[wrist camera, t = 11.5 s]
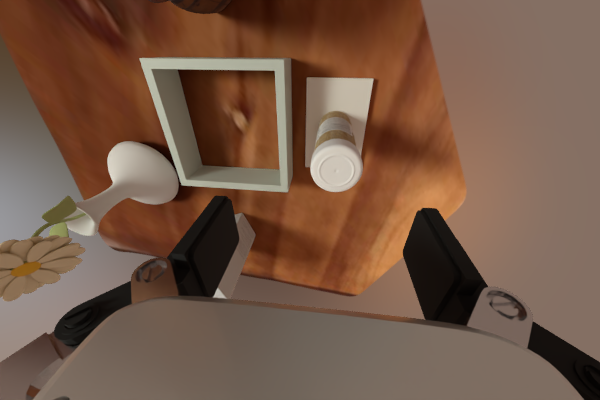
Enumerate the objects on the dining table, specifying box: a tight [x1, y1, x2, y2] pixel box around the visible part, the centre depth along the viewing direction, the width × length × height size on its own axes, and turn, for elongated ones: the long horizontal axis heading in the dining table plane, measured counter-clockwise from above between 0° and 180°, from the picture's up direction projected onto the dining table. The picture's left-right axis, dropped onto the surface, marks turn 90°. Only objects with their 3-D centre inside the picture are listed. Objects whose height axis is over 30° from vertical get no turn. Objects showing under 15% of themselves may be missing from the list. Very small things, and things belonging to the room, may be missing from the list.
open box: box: [139, 57, 293, 192], centre depth 30 cm, size 16×16×5 cm
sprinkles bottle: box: [310, 111, 363, 192], centre depth 25 cm, size 5×5×14 cm
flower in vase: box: [0, 141, 179, 301], centre depth 28 cm, size 13×11×25 cm
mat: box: [305, 77, 373, 167], centre depth 31 cm, size 12×8×1 cm, turn 0°
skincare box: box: [213, 213, 256, 299], centre depth 38 cm, size 8×6×15 cm
